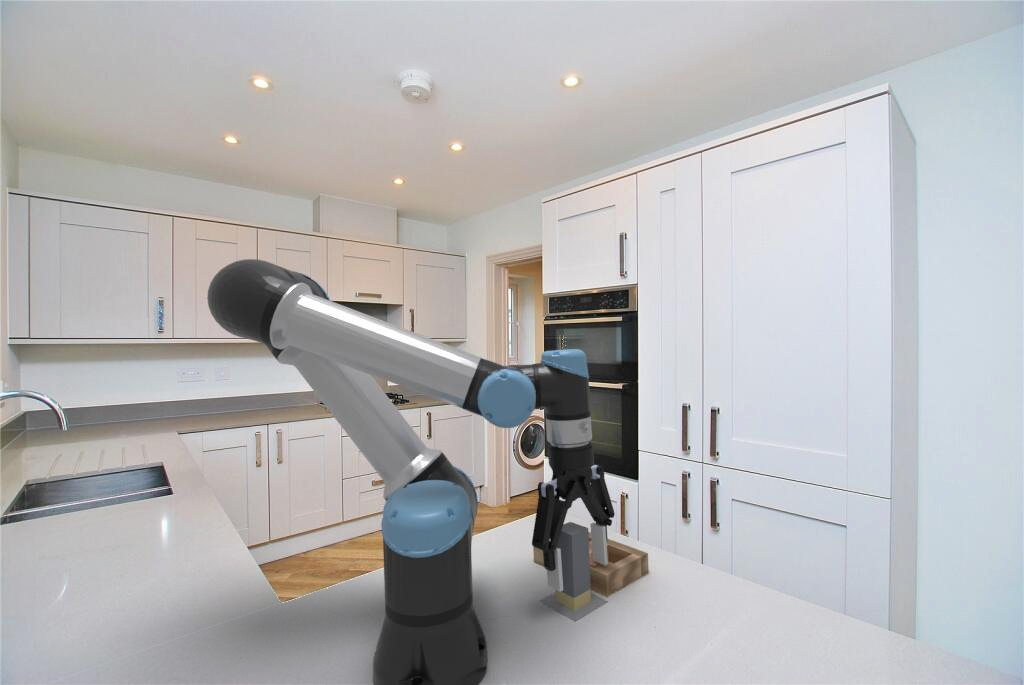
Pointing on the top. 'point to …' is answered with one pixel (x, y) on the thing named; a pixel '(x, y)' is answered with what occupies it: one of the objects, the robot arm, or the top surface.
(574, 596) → the plug
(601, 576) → the socket board
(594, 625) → the top surface
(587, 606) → the mat
